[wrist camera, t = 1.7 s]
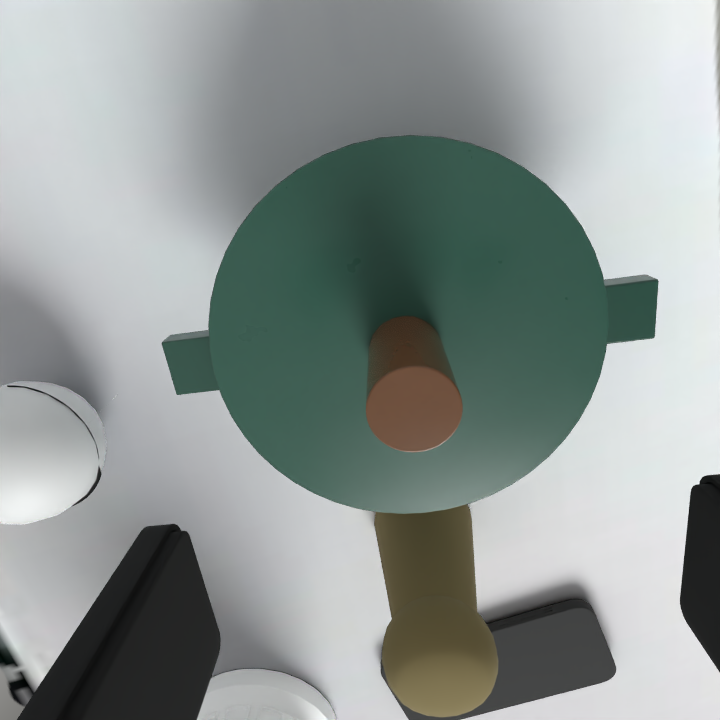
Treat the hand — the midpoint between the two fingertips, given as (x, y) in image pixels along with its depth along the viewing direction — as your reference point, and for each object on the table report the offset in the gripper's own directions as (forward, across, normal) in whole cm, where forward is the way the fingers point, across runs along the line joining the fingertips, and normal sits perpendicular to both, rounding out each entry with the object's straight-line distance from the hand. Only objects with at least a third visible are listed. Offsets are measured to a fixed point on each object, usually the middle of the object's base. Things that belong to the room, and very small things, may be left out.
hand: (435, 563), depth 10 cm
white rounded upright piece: (+19, +19, +4) cm, 27 cm away
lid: (+11, 0, 0) cm, 11 cm away
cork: (+19, 0, +14) cm, 24 cm away
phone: (+19, -4, +26) cm, 32 cm away
